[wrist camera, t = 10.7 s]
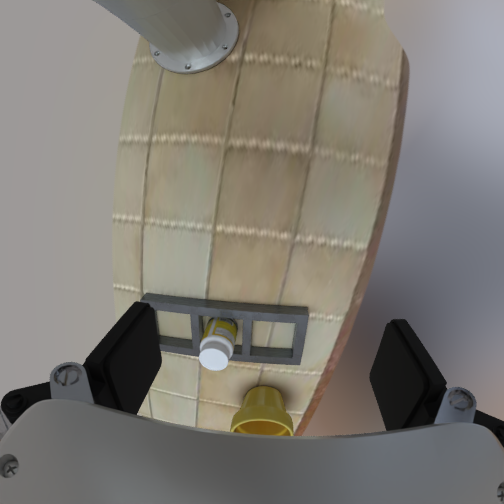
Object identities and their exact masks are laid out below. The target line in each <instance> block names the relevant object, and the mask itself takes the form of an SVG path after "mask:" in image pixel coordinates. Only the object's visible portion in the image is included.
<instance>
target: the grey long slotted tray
mask: <svg viewBox="0 0 504 504" xmlns="http://www.w3.org/2000/svg"><path fill="white" fill-rule="evenodd" d="M140 301H141V302H144V303H149V304H150V306H151V307H153V308H154V310H155V318H156V325H157V332H158V339H159V345H160V351H165V352H171V353H177V354H184V355H191V356H198V357H199V355H200V343H201V340H202V338H203V319H202V316H211V317H220V318H231V319H243V343H242V346H241V345H235V346H234V351H233V354H232V356H231V358H230V359H229V360H232V361H242V362H254V363H268V364H285V365H300V363H301V357H302V352H303V347H304V341H305V335H306V329H307V323H308V317H309V314H308V309H307V307H296V306H279V305H264V304H250V303H238V302H226V301H215V300H205V299H195V298H185V297H176V296H167V295H159V294H151V293H146V294H145V295H144V296H143V297H142V299H141V300H140ZM156 310H160V311H168V312H176V313H184V314H190V316H191V330H192V340H188V339H180V338H174V337H167V336H161V335H159V328H158V321H157V313H156ZM252 320H255V321H269V322H285V323H296V324H295V331H294V338H293V344H292V349H283V348H266V347H253V346H251V338H252Z"/></svg>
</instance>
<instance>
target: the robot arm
mask: <svg viewBox="0 0 504 504" xmlns="http://www.w3.org/2000/svg"><path fill="white" fill-rule="evenodd" d="M93 1H95V2H96V3H98V4H99V5H101V6H102V7H104V8H105V9H107V10H108V11H110V12H111V13H112V14H114V15H115V16H117V17H118V18H120V19H121V20H122V21H124V22H125V23H126V24H128V25H129V26H130V27H131V28H133V29H134V30H135V31H137V32H138V33H139V34H140V35H142V36H143V37H144V38H145V39H147V40H148V41H149V42H150V43H149V47H150V52H151V54H152V56H153V58H154V60H155V61H156V62H157V63H158V64H159V65H160V66H162V67H163V68H165V69H167V70H168V71H171V72H174V73H180V74H192V73H197V72H201V71H204V70H207V69H209V68H211V67H213V66H215V65H217V64H218V63H220V62H221V61H222V60H224V59H225V58H226V57H227V56H228V55H229V54H230V52H231V51H232V49H233V48H234V47H235V44H236V42H237V40H238V35H239V26H238V22H237V19H236V17H235V15H234V14H233V12H232V11H231V10H230V9H229V8H228V7H226V6H225V5H223V4H221V3H219V2H217V1H216V0H93ZM225 48H228V49H226V50H224V49H225ZM189 67H191V68H190V69H188V68H189ZM161 364H162V357H161V351H160V345H159V339H158V332H157V325H156V318H155V310H154V308H153V307H151V306H150V304H149V303H144V302H137V301H136V302H134V303H133V305H132V306H131V307H130V308H129V309H128V310H127V311H126V313H125V314H124V315H123V316H122V317H121V318H120V319H119V321H118V322H117V323H116V324H115V325H114V326H113V327H112V329H111V330H110V331H109V332H108V333H107V335H106V336H105V337H104V338H103V339H102V340H101V342H100V343H99V344H98V345H97V346H96V348H95V349H94V350H93V351H92V352H91V354H90V355H89V356H88V357H87V358H86V361H85V363H84V364H83V365H81V364H78V363H75V362H66V363H63V364H60V365H58V366H57V367H55V368H54V369H53V371H52V372H51V374H50V382H46V383H42V384H38V385H33V386H29V387H25V388H21V389H16V390H13V391H10V392H9V393H7V394H6V395H5V396H4V397H3V399H2V401H1V406H0V504H504V421H502V420H499V419H497V418H495V417H492V416H490V415H488V414H485V413H483V412H481V411H478V410H476V399H475V397H474V396H473V394H472V393H471V392H470V391H468V390H466V389H464V388H461V387H452V388H449V389H447V388H446V386H445V385H446V384H447V382H446V380H445V379H444V377H443V376H442V374H441V372H440V371H439V369H438V368H437V366H436V364H435V363H434V361H433V360H432V358H431V356H430V355H429V353H428V352H427V350H426V349H425V347H424V346H423V344H422V343H421V341H420V340H419V338H418V337H417V336H416V334H415V332H414V331H413V329H412V328H411V327H410V325H409V324H408V322H407V321H406V320H405V319H393V320H391V322H390V323H387V325H386V327H385V331H384V334H383V337H382V340H381V343H380V346H379V349H378V352H377V355H376V358H375V361H374V364H373V366H372V369H371V372H370V382H371V385H372V388H373V391H374V394H375V397H376V400H377V403H378V405H379V409H380V412H381V415H382V418H383V421H384V424H385V428H386V431H382V432H374V433H364V434H352V435H335V436H274V435H257V434H245V433H235V432H226V431H218V430H210V429H203V428H197V427H191V426H185V425H180V424H175V423H170V422H165V421H160V420H156V419H151V418H147V417H143V416H138V415H137V413H138V411H139V409H140V407H141V405H142V403H143V401H144V399H145V397H146V395H147V393H148V391H149V389H150V387H151V385H152V383H153V381H154V379H155V377H156V375H157V373H158V371H159V369H160V367H161Z"/></svg>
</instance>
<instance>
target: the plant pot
mask: <svg viewBox="0 0 504 504" xmlns="http://www.w3.org/2000/svg"><path fill="white" fill-rule="evenodd" d="M230 432H235V433H245V434H257V435H274V436H293V422H292V418H291V417H290V415H289V414H288V413H287V412H286V409H285V406H284V403H283V399H282V396H281V394H280V392H279V391H278V390H276V389H275V388H272V387H268V386H259V387H255V388H253V389H251V390H250V391H248V393H247V394H246V396H245V399H244V401H243V403H242V406H241V408H240V410H239V411H238V412H237V413H236V414H235V415H234V417H233V419H232V424H231V429H230Z"/></svg>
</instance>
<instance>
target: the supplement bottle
mask: <svg viewBox="0 0 504 504" xmlns="http://www.w3.org/2000/svg"><path fill="white" fill-rule="evenodd" d="M237 330H238V328H237V324H236V322H235V321H234V320H233V319H231V318H220V317H212V318H211V319H210V320H209V322H208V324H207V327H206V330H205V332H204V335H203V338H202V340H201V343H200V355H199V360H200V362H201V364H202V365H203V366H204V367H206V368H207V369H210V370H214V371H218V370H222V369H224V368H225V367H226V366H227V365H228V362H229V359H230V358H231V356H232V354H233V351H234V346H235V341H236V335H237Z"/></svg>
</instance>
